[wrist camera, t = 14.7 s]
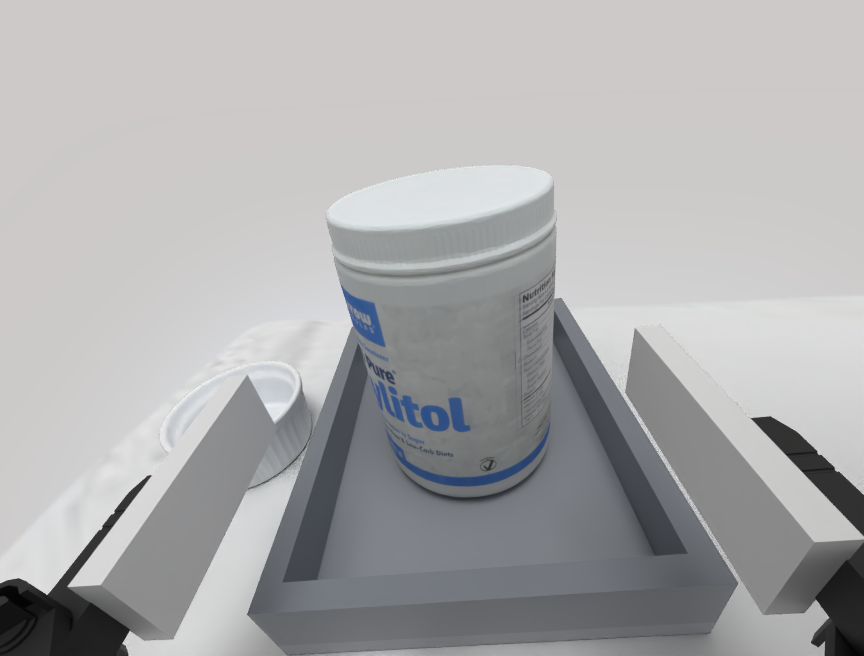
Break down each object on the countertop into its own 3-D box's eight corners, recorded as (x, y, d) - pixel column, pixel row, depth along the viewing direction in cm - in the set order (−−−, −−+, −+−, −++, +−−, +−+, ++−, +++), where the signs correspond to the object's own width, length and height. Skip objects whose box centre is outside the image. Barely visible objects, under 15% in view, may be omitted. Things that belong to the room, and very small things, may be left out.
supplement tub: (365, 478, 21) (262, 230, 14) (430, 374, 28) (387, 172, 21) (536, 532, 17) (528, 222, 10) (563, 395, 24) (571, 152, 17)
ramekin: (323, 390, 31) (305, 348, 29) (316, 479, 23) (291, 432, 21) (215, 418, 30) (188, 377, 28) (172, 519, 23) (130, 475, 20)
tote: (560, 339, 31) (561, 298, 29) (709, 633, 14) (738, 583, 12) (364, 364, 33) (351, 327, 31) (287, 654, 16) (247, 614, 14)
